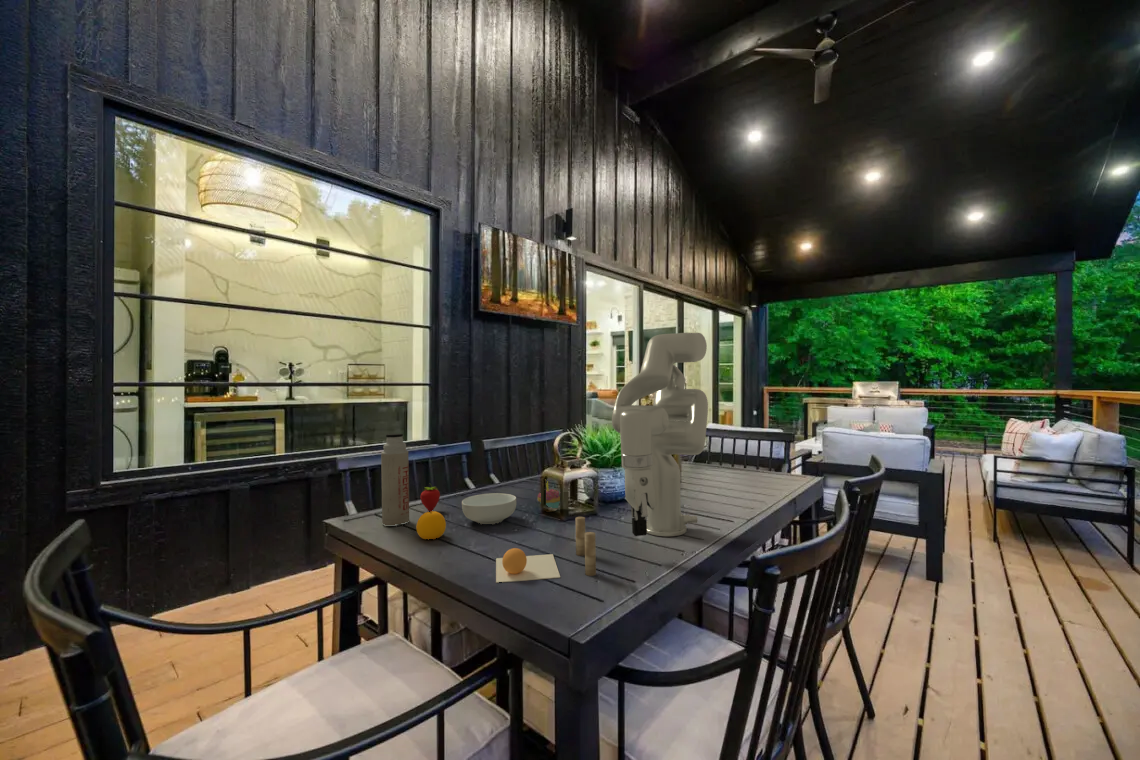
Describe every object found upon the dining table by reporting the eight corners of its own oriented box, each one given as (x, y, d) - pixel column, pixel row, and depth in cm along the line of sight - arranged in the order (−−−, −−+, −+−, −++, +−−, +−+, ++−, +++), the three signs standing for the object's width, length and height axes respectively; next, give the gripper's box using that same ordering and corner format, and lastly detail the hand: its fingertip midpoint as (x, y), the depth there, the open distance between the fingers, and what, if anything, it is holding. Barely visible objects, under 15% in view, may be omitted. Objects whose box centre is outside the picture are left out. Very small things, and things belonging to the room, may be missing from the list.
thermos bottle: (414, 521, 148) (413, 432, 148) (393, 528, 142) (391, 435, 142) (398, 518, 153) (397, 431, 153) (376, 524, 146) (375, 434, 146)
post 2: (594, 571, 107) (594, 531, 107) (597, 575, 105) (596, 535, 105) (584, 572, 107) (583, 532, 107) (586, 576, 104) (585, 535, 104)
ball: (513, 574, 109) (530, 556, 110) (514, 582, 104) (532, 564, 105) (496, 557, 109) (514, 540, 110) (497, 565, 103) (515, 546, 104)
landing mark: (552, 554, 118) (552, 554, 118) (560, 577, 104) (560, 576, 104) (496, 559, 115) (496, 558, 115) (496, 582, 102) (496, 582, 102)
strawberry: (416, 514, 157) (415, 484, 157) (429, 508, 164) (429, 479, 164) (431, 515, 155) (431, 485, 155) (444, 509, 162) (443, 480, 162)
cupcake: (554, 515, 153) (553, 478, 153) (532, 512, 157) (531, 476, 157) (567, 508, 160) (566, 473, 160) (546, 506, 164) (545, 471, 165)
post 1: (584, 552, 119) (584, 516, 119) (586, 555, 117) (585, 519, 117) (575, 552, 119) (574, 517, 119) (576, 556, 116) (576, 519, 116)
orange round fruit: (422, 544, 127) (422, 517, 127) (412, 537, 133) (412, 511, 133) (450, 538, 132) (450, 511, 132) (439, 531, 138) (439, 506, 138)
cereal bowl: (507, 511, 159) (507, 490, 159) (524, 524, 144) (523, 501, 144) (456, 518, 151) (456, 496, 152) (469, 532, 136) (468, 508, 137)
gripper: (662, 466, 107) (665, 544, 108) (642, 453, 122) (644, 522, 123) (630, 468, 106) (633, 548, 107) (614, 455, 121) (617, 525, 122)
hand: (639, 534), depth 115 cm, fingers closed
